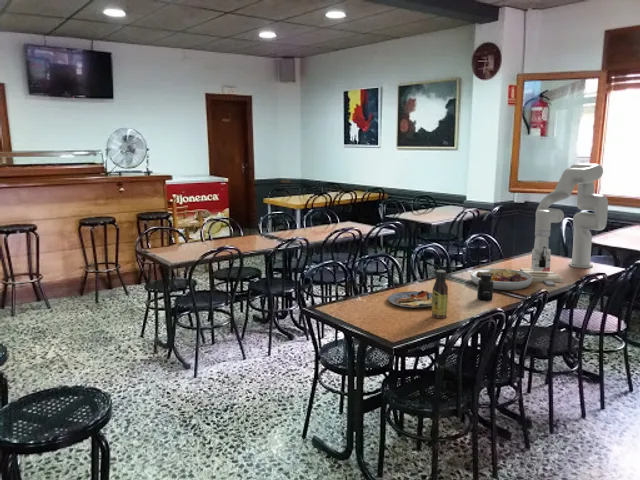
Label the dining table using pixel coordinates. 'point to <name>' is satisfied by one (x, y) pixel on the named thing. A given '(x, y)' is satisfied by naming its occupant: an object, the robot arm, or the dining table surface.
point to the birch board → (542, 275)
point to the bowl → (504, 278)
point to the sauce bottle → (440, 295)
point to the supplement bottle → (485, 288)
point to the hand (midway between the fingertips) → (540, 265)
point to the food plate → (412, 299)
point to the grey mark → (549, 283)
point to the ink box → (535, 262)
